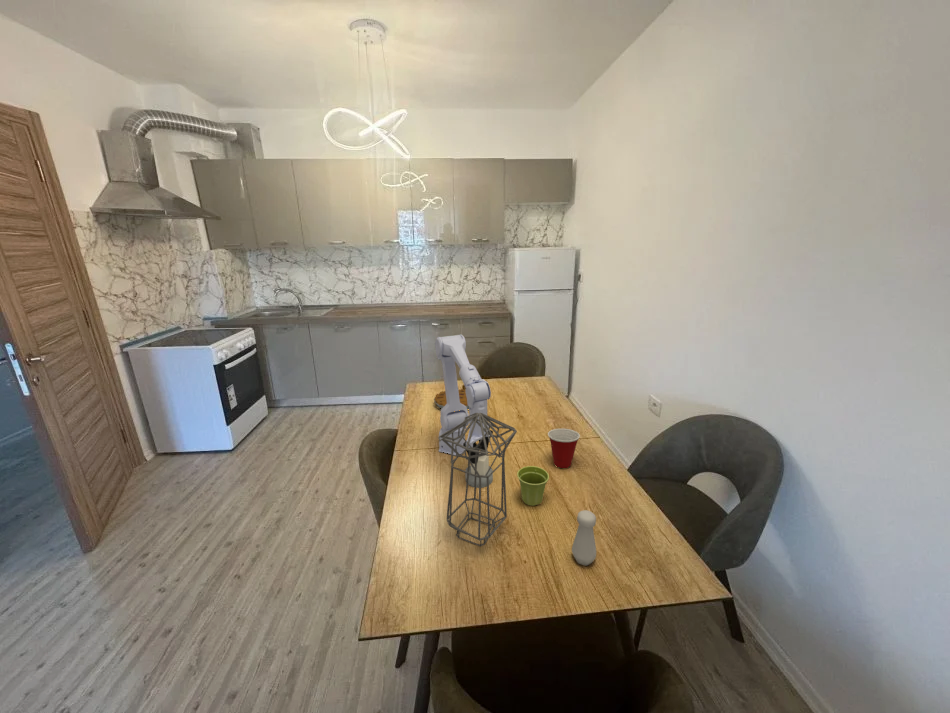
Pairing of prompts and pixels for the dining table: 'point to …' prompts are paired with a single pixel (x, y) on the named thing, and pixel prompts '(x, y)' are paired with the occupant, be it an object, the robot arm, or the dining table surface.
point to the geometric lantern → (485, 420)
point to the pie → (442, 401)
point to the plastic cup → (563, 446)
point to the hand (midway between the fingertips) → (478, 457)
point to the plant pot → (532, 484)
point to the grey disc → (483, 480)
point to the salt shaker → (585, 538)
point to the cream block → (481, 465)
